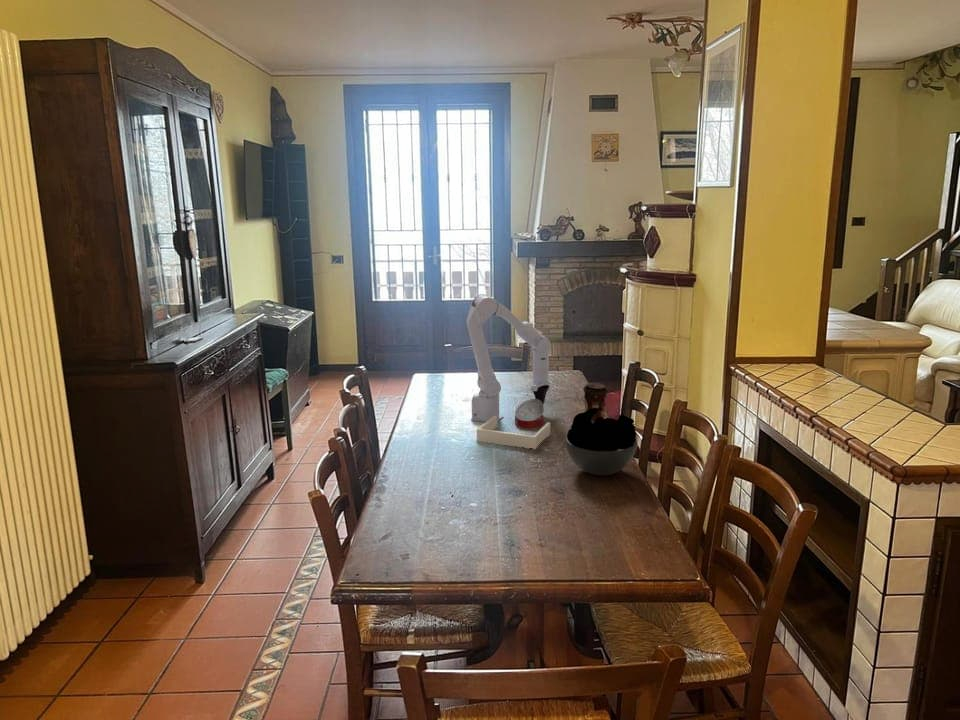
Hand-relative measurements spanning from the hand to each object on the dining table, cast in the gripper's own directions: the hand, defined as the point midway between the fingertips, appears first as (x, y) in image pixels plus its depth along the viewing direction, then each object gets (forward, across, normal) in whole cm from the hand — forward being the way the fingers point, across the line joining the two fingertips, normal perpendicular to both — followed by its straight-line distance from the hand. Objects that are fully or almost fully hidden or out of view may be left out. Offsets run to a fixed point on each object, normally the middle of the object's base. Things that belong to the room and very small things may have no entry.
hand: (540, 405), depth 243 cm
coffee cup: (+4, 0, -20) cm, 20 cm away
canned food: (+4, -12, 0) cm, 12 cm away
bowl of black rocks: (+4, -44, -33) cm, 55 cm away
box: (+3, -26, 0) cm, 26 cm away
